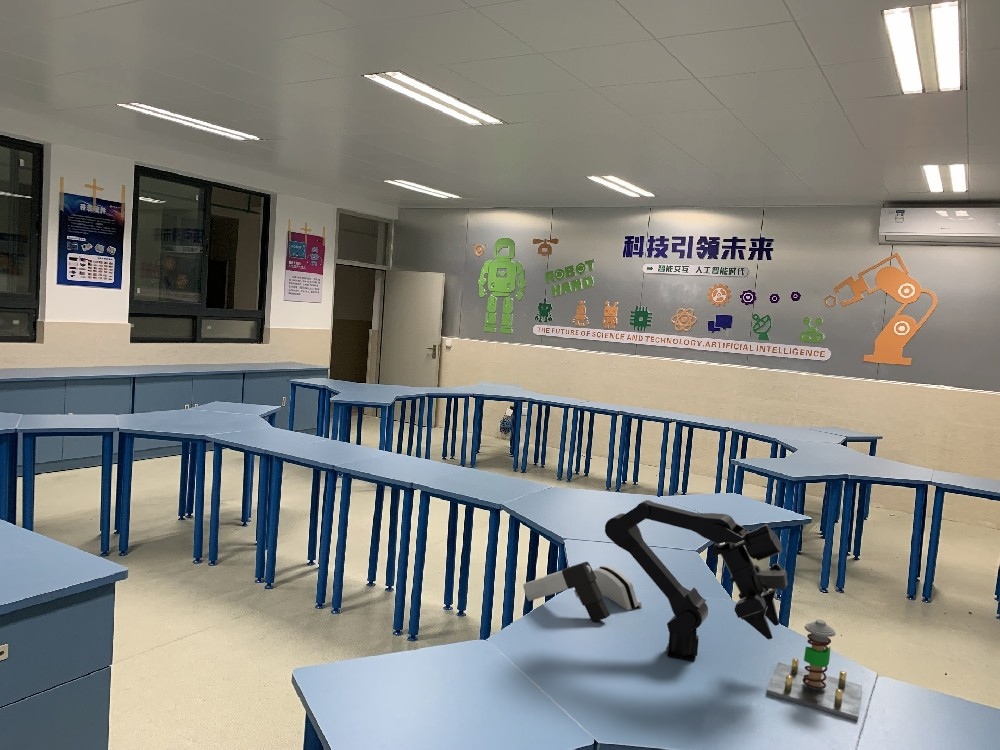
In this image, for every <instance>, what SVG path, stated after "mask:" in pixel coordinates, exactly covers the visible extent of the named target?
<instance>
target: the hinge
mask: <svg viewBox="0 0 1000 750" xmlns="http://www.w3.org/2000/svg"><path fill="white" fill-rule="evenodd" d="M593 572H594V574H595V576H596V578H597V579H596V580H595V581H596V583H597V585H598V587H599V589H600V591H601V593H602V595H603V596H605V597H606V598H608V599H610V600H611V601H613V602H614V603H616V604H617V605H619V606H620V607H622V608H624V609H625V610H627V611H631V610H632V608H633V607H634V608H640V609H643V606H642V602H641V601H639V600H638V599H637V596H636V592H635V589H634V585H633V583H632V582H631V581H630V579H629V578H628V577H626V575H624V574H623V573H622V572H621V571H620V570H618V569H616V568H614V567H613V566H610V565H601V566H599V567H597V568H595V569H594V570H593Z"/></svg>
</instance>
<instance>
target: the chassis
mask: <svg viewBox="0 0 1000 750" xmlns="http://www.w3.org/2000/svg"><path fill="white" fill-rule="evenodd" d="M799 662H800V660H799V659H798V658H796V657H794V658H792V659H791V665H790V664H786V663H782V662H777V663H776V667H775V669H774V672H773V673H772V676H771V679H770V681H769V683H768V685H767V688H766V690H765V691H766V692H765V695H766V696H769V697H772V698H775V699H778V700H782V701H784V702H788V703H792V704H795V705H799V706H802V707H805V708H810V709H812V710H815V711H818V712H823V713H825V714H829V715H831V716H835V717H838V718H842V719H846V720H850V721H853V722H856V723H857V722H858V721H859V720H858V718H859V711H860V706H861V700H862V699H861V698H862V691H863V685H862V684H858V683H855V682H851V681H848V680H847V672H846V671H843V670H840V671H839V676H838V678H837V677H834V676H833V677H832V676H829V675H826V680H824V681H823V682H825V684H826V687H825V688H823V689H818V690H815V689H811V688H810V687H808V686H807V685H806V684H805V683H804V682H803V678H804V675H806V674H807V675H809V671H807V670H806V669H805V668H800V667H799ZM823 678H824V675H823V674H822V676H821V679H823Z"/></svg>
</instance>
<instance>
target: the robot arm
mask: <svg viewBox="0 0 1000 750" xmlns="http://www.w3.org/2000/svg"><path fill="white" fill-rule="evenodd" d="M645 520H651V521H654V522H658V523H662V524H665V525H670V526H673V527H676V528H681V529H685V530H688V531H691V532H694V533H696V534H698V535H699V536H701V537H702V538H704V539H706V540H709V541H711V542H713V543H714V544H713V549H712V552H711V553H710V555H711V556H710V557H712V558H715V557H716V556H719V555H720V556H721V558H722V560H723V562H724V563H725V566H726V567H727V570H728V571H729V573H730V577H729V580H730V582H731V583H734V584H735V586H736V589H737V590H738V591H739V594H738V597H739V599H738V601H737V602H736V604H735V607H734V612H735V614H736V616H737V618H739V619H741V620H743V621H745V622H746V623H748V624H749V625H750V626H751V627H753V629H755V630H756V631H758V632H759V634H761V635H762V636H763V637H764V638H765V639H766V640H768V641H769V640H772V639H773V634H772V631H771V628H770V625H769V622H771V624H772V625H773V626H779V625H780V620H779V617H778V613H777V609H776V604H775V600H774V599H775V596H776V593H777V590H780V591H782V590H783V591H784V590H786V589H787V586H788V585H789V582H788V577H787V576H788V573H787V570H786V569H784V568H783V567H782V566H781V564H780V563H773V564H772V565H771V567H770V569H769V568H767V569H766V570H765V569H764V570H763V569H761V568H760V566H759V565H757V564H754V562H753V561H752V560H756V561H758V562H759V561H762V560H764V559H768V558H770V557H772V556H775V555H778V554H781V553H783V547H782V546H783V545H782V543H781V541H780V538H779V537H778V535H777V534H776V533H775V532H774V530H772V529H771V527H770V526H769V524H768V523H766V524H764V525H761V526H760V527H758V528H755V529H753V530H749V529H748V528H745V527H743V526H742V525H740V524H738V523H736V521H735V520H734V519H733V517H732V516H731V515H729V514H725V513H715V512H713V513H712V512H710V513H709V512H708V513H701V512H698V513H697V512H694V511H691V510H685V509H682V508H677V507H673V506H670V505H666V504H661V503H657V502H654V501H652V500H650V499H649V500H647V499H646V500H644V501H641V502H640V503H638V504H637V505H636V506H635V507H634V508H632V509H631V510H629V511H628V512H626V513H619V514H617V515H615V516H613V517H611V518H610V519H608V520H607V521H606V523H605V525H604V533H605V536H607V538H608V539H609V540H610V541H612V542H613V543H614V544H615V545H616V546H618V547H619V548H621V549H622V550H624V551H626V552H628V553H629V554H630V555H631V557H632V558H634V560H635V561H636V563H637V564H638V565H639V566H640V567H641V568H642V570H643V571H644V572H645V574H646V575H647V576H648V577H649V578H650V580H652V582H653V583H654V584H655V585H656V586H657V587H658V589H659V590H660V591H661V592H662V594H664V596H665V597H666V599H667V600H668V603H669V605H670V607H671V611H672V613H673V616H672V618H671V619H669V621H667V623H666V625H667V629H668V633H669V635H668V643H667V649H666V650H667V652H666V656H667V657H668V658H675V659H680V660H684V661H685V660H686V661H692V662H695V661H696V657H697V656H698V650H699V641H700V640H699V638H700V637H699V635H697V631H698V630H697V629H699V627H700V626H701V625H702V624H703V622H704V621H705V620H706V619H707V618H708V615H709V607H708V605H707V603H706V602H707V599H705V598H704V597H703V596H701V595H700V593H699V591H698V589H696V587H693V588H691V590H689V589H688V588H686V587H684V586H683V585H682V584H681V583H680V581H679V580H678V579H677V578H676V577H675V576H674V574H673V573H671V571H670V570H669V569H668V568H667V566H666V565H665V564H664V563H663V561H662V560H661V559H660V558H659V557H658V556H657V555H656V553H655V552H654V551H653V550H652V549H651V548H650V546H649V545H648V544H647V543H646V542H645V540H644V538H643V535H642V532H641V530H640V527H639V526H638V524H640V523H642V522H643V521H645ZM751 558H752V559H751ZM768 620H769V622H768Z"/></svg>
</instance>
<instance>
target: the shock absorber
mask: <svg viewBox="0 0 1000 750" xmlns="http://www.w3.org/2000/svg"><path fill="white" fill-rule="evenodd" d="M804 629H805V631H807V632H808V634H807V636H806V637H807V643H808V644H809V645H811V646H805V648H804V649H805V650H804V657H803V661H804V662H805V663H807V664H809V665H805V666H804V670H807V671H809V675H807V674H806V675H804V678H803V682H804V683H805V684H806V685H807V686H808V687H810V688H811V689H815V690H818V689H823V688H825V687H826V684H825V682H823V681H824V680H826V676H827V674H826V672H827V671H828V665H829V664H830V659H831V657H830V656H831V646H829V645H830V644H831V643H832V639H831V637H835V636H836V635H837V633H836V631H835V629H833V628H832V627H831V626H829V625H828V624H827V622H826V621H825V620H823V619H816V620H815V621H813V622H808V623H806V624H805V625H804ZM823 668H824V669H823ZM822 674H823V675H824V678H823V679H821V676H822Z"/></svg>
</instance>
